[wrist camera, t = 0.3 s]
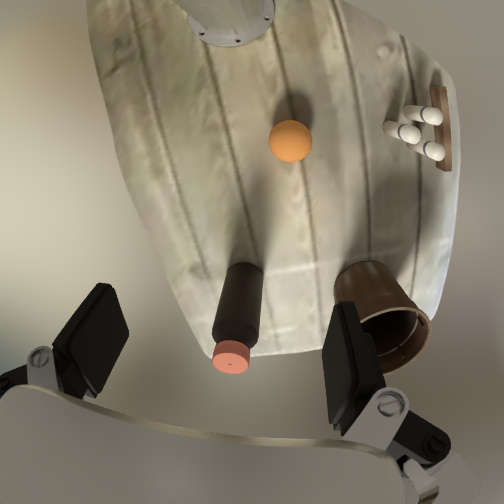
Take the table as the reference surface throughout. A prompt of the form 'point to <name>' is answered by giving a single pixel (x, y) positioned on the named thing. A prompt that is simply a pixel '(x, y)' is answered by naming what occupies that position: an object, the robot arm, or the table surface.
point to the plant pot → (385, 313)
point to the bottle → (237, 318)
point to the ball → (290, 141)
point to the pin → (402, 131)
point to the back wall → (442, 126)
